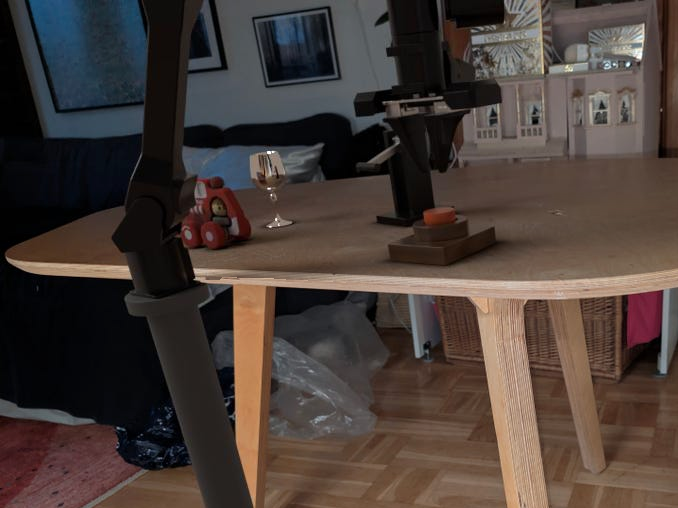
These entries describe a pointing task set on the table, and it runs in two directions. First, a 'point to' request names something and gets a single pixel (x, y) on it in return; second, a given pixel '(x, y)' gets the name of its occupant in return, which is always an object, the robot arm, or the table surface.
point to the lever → (380, 157)
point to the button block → (441, 242)
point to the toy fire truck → (214, 216)
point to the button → (439, 216)
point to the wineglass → (269, 178)
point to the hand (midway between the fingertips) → (434, 172)
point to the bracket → (407, 188)
